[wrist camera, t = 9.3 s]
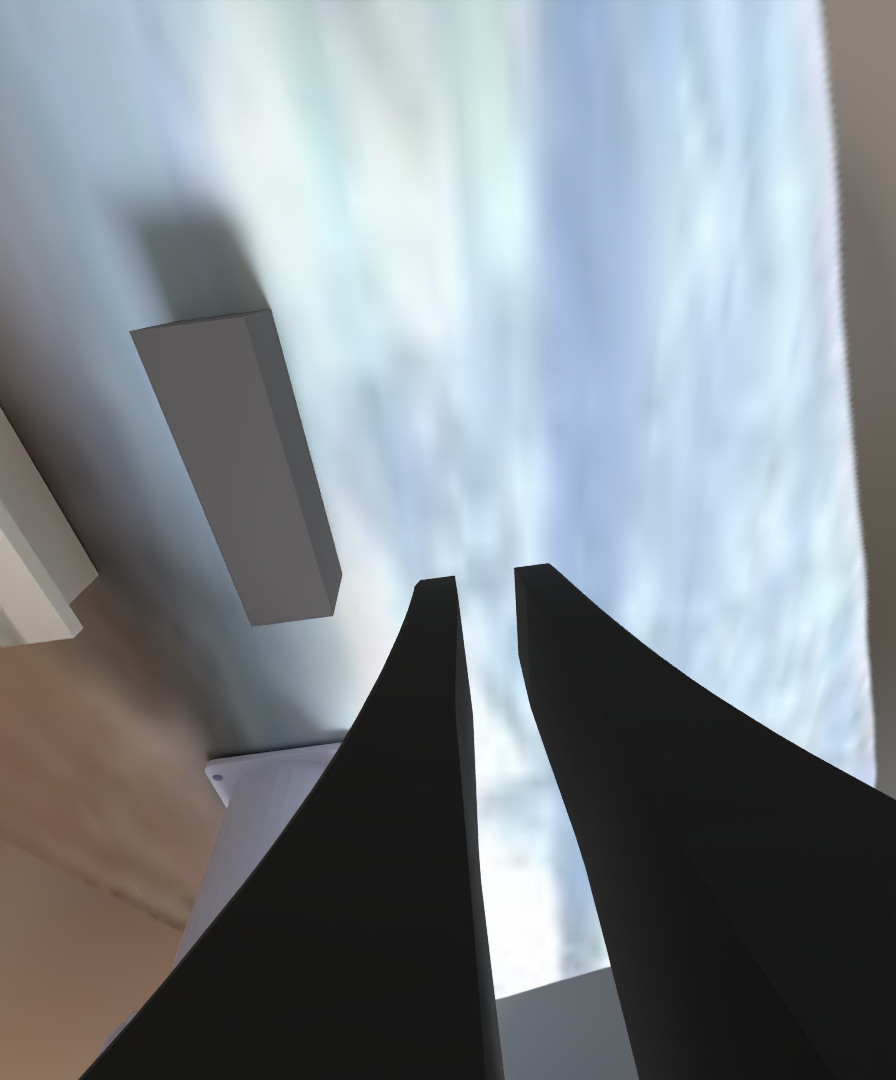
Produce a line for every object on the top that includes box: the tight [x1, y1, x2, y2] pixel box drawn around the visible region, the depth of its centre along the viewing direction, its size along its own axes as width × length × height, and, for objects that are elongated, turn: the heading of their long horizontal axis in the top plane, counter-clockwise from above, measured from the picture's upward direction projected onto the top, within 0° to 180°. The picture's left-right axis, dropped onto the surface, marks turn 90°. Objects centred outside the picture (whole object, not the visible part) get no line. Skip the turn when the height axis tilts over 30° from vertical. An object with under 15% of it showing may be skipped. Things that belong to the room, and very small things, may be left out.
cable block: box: [129, 310, 342, 626], centre depth 16 cm, size 10×3×3 cm, turn 6°
